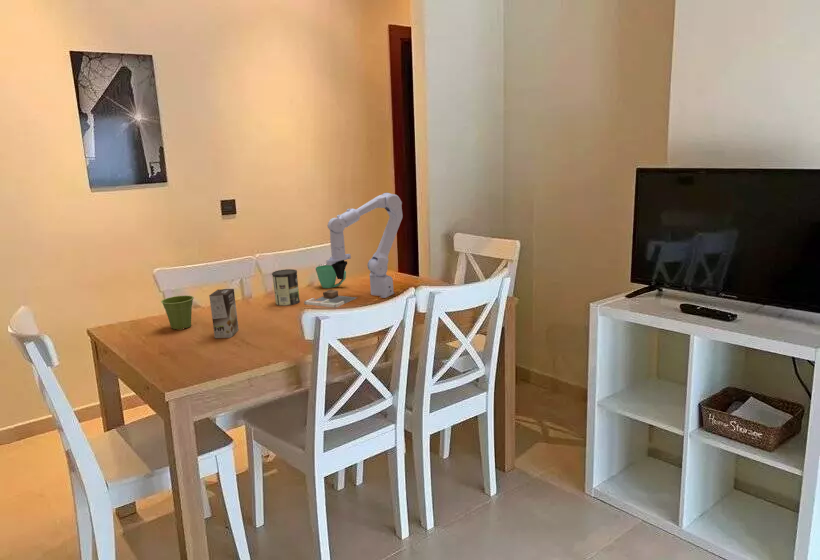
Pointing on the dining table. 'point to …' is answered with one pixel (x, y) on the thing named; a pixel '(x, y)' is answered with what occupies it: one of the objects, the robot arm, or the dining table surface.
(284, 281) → the coffee can
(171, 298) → the plant pot
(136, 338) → the dining table surface
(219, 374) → the dining table surface
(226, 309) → the coffee box
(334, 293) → the token
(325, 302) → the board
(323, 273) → the mug
